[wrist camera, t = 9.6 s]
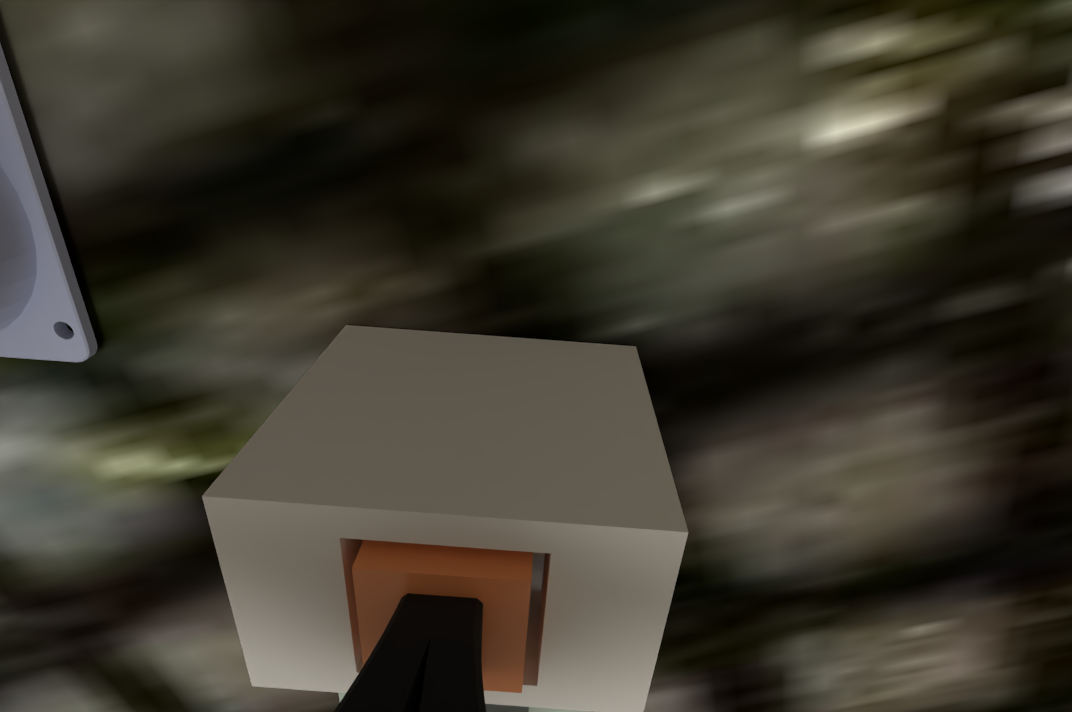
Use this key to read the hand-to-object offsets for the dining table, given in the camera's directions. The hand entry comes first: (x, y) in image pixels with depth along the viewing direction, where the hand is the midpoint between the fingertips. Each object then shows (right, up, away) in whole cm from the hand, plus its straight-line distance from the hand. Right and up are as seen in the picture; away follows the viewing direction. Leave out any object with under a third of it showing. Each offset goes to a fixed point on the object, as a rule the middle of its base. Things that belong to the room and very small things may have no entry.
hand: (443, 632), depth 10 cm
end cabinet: (0, +3, +6) cm, 7 cm away
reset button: (0, +1, +2) cm, 2 cm away
